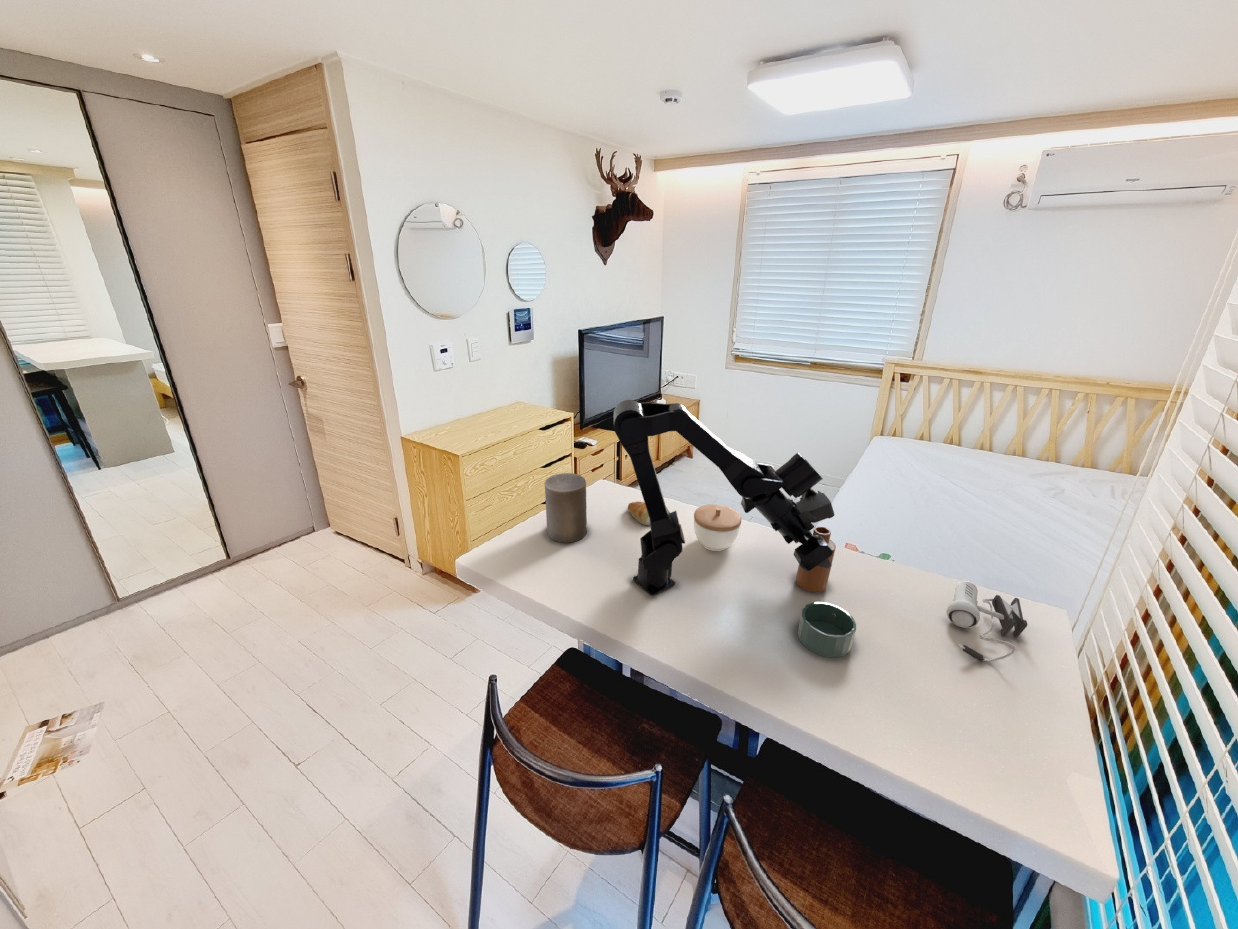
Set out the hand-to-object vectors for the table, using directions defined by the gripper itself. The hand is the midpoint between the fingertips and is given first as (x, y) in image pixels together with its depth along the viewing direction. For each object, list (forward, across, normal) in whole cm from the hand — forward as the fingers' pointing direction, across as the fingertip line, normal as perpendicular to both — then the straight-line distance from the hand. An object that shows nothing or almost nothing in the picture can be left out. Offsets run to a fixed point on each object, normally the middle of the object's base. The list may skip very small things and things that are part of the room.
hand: (823, 557), depth 102 cm
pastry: (-20, +27, +29) cm, 44 cm away
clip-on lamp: (+22, -15, -13) cm, 30 cm away
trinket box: (-9, +15, +18) cm, 25 cm away
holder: (+1, -16, +8) cm, 18 cm away
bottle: (+4, 0, +6) cm, 7 cm away
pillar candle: (-33, +19, +43) cm, 58 cm away
